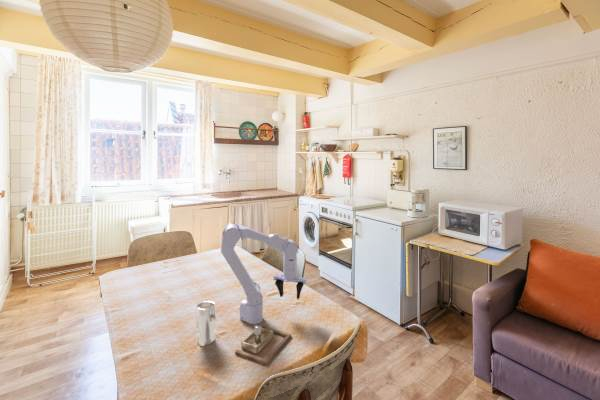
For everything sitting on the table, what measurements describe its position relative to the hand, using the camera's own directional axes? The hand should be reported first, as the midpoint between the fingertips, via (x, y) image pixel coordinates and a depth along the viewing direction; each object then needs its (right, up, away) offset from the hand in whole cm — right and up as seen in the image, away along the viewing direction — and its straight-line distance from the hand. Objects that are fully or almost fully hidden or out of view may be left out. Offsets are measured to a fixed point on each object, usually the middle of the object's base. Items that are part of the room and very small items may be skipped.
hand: (289, 297), depth 130 cm
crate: (-11, -11, -19) cm, 25 cm away
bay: (-9, -12, -20) cm, 25 cm away
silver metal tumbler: (-31, -12, -17) cm, 37 cm away
